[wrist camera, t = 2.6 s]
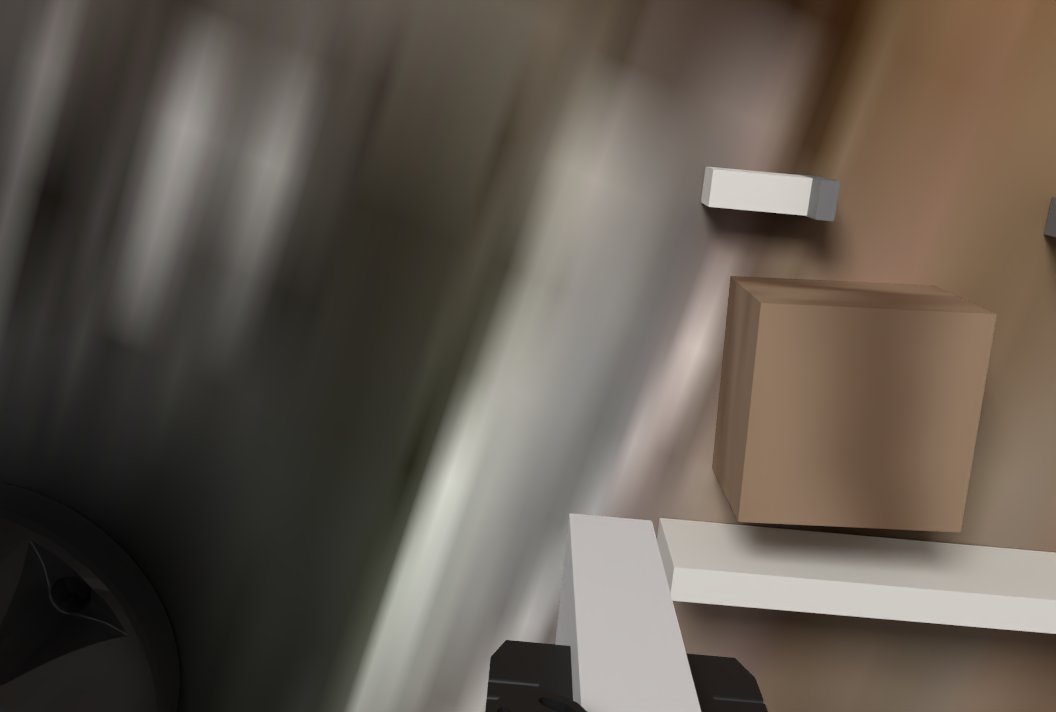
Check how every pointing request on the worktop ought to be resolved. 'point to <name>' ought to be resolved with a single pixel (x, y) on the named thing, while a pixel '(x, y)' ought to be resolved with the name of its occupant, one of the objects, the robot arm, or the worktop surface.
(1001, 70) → the worktop surface
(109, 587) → the robot arm
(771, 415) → the block
